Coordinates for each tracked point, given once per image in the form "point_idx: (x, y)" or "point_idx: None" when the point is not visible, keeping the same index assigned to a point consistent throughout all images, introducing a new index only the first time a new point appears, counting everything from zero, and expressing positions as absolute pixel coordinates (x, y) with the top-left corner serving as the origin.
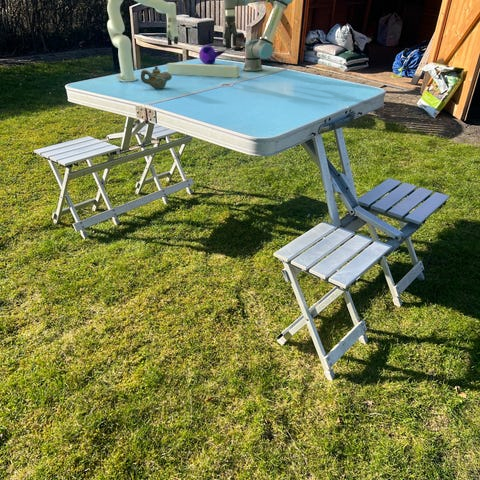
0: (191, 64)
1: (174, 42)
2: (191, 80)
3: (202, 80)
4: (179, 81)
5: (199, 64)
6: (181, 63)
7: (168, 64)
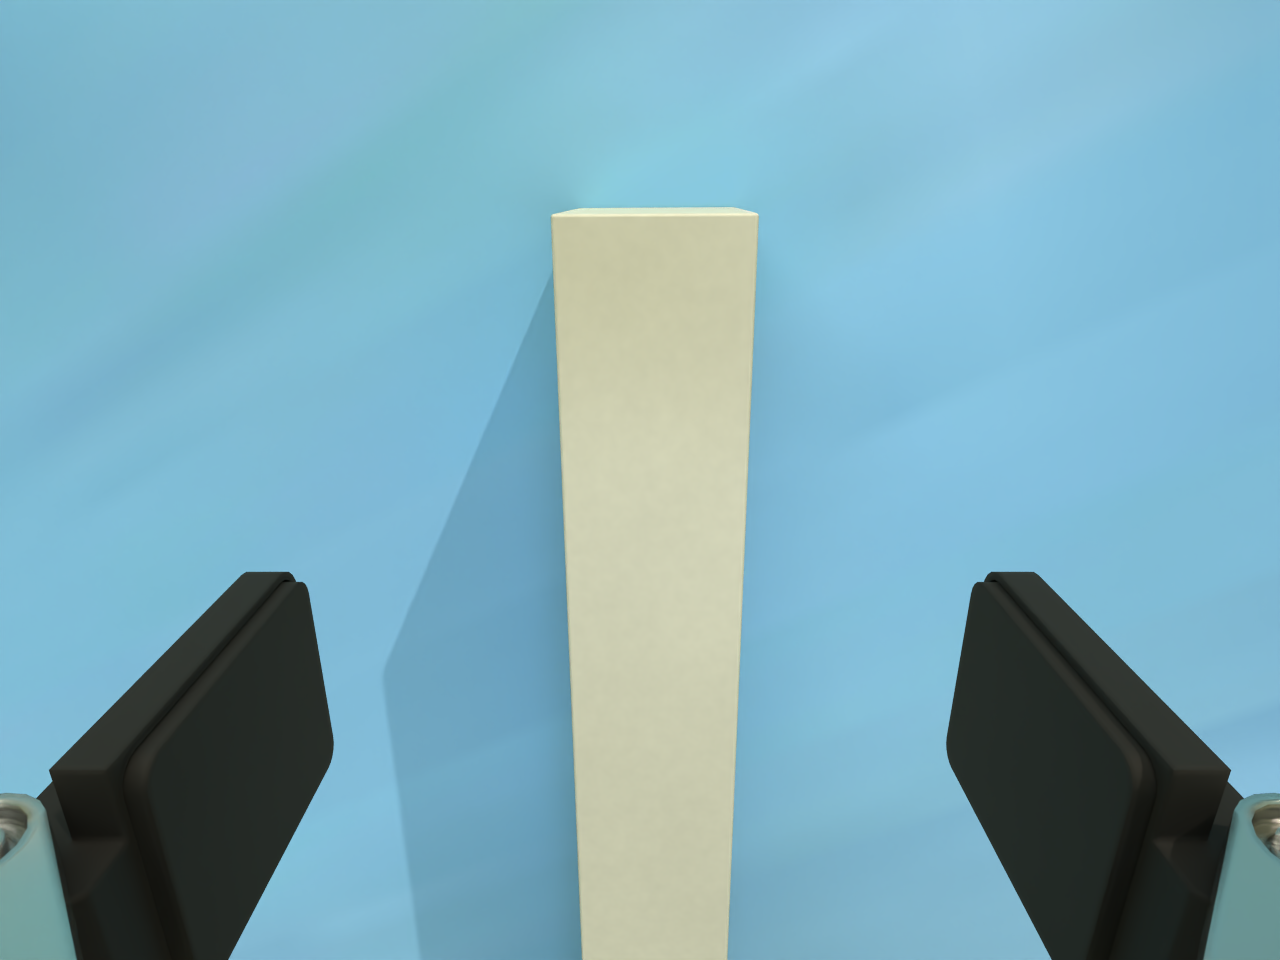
0: (651, 799)
1: (1000, 641)
2: None
3: (311, 955)
4: None
5: (689, 926)
6: (722, 552)
7: (554, 268)
